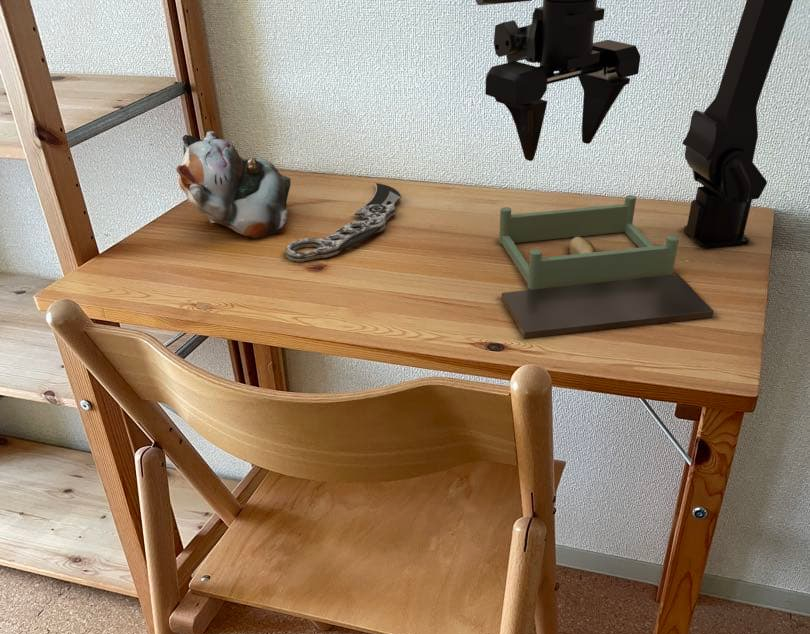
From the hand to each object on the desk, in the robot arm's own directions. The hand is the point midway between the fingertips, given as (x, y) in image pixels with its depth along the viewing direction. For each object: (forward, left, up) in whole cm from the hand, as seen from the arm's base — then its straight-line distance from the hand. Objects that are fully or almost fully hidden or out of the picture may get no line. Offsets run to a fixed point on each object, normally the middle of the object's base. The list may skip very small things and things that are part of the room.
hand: (558, 151), depth 101 cm
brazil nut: (-4, +1, -13) cm, 14 cm away
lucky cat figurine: (+39, -21, -13) cm, 46 cm away
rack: (-4, +1, -13) cm, 14 cm away
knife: (+23, -17, -13) cm, 32 cm away
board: (-2, +15, -13) cm, 20 cm away
